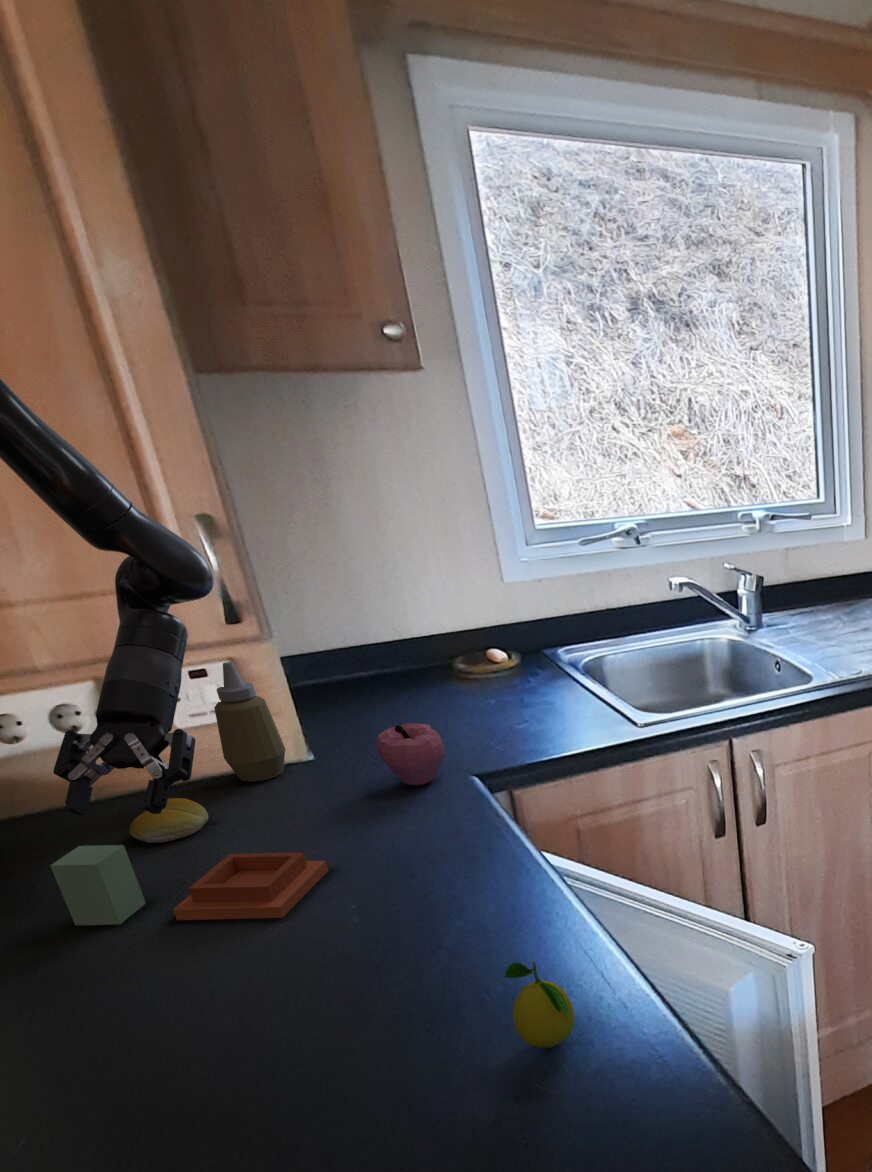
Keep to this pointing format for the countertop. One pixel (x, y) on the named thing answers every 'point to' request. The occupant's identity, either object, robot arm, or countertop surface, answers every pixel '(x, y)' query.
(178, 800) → the bread roll
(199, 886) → the base pad
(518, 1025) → the lemon
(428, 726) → the apple
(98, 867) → the sage pad block
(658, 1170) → the countertop surface
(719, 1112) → the countertop surface
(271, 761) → the squeeze bottle
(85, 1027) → the countertop surface
